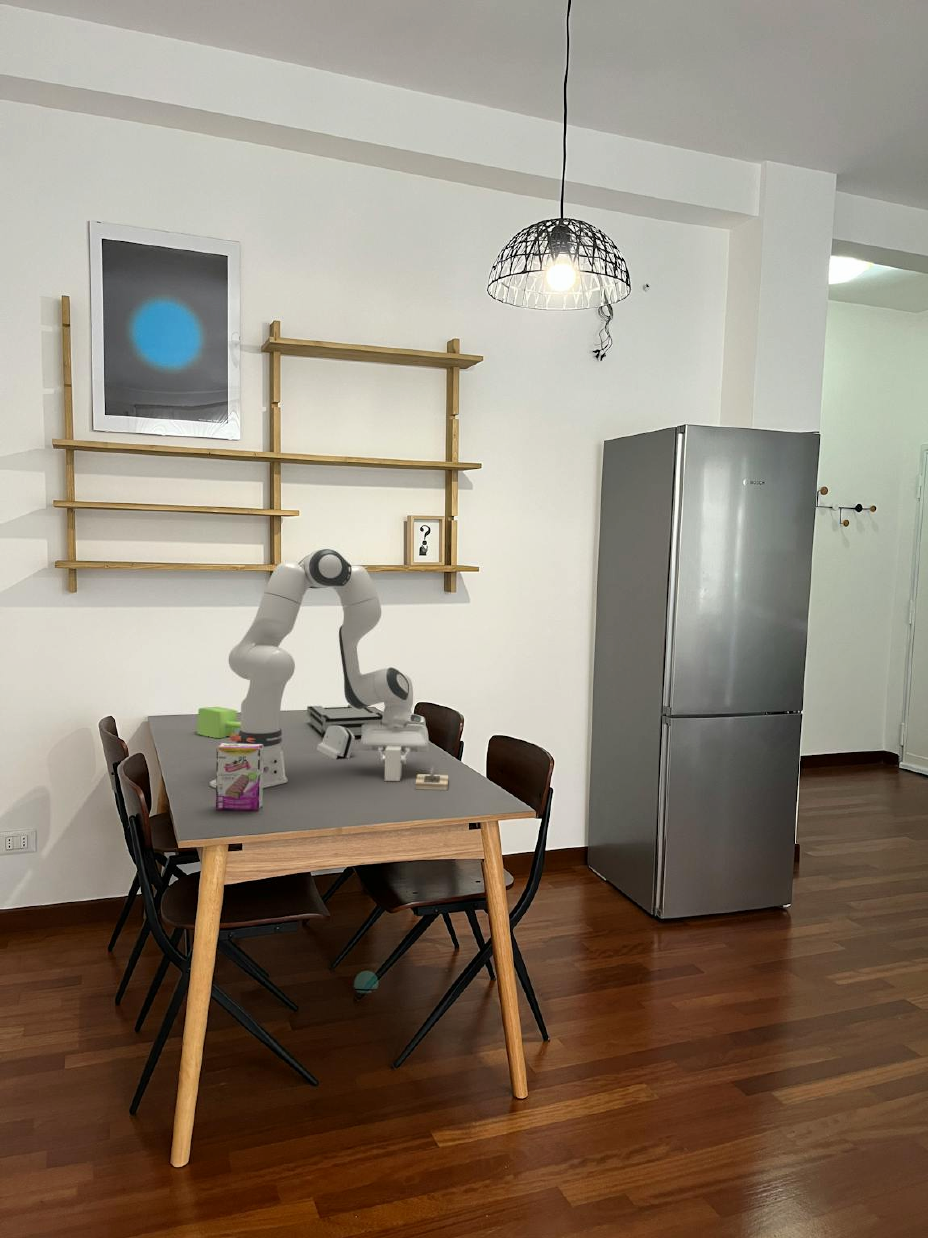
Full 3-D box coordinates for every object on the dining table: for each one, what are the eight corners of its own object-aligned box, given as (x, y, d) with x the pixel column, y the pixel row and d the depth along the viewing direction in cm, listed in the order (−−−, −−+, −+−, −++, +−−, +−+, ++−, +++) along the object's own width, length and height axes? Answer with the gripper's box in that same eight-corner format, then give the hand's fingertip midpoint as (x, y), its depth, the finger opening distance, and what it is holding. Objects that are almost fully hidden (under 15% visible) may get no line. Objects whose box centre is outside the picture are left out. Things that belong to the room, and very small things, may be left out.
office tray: (360, 722, 358) (361, 701, 357) (383, 739, 328) (384, 716, 327) (307, 724, 350) (307, 703, 350) (325, 742, 321) (325, 718, 320)
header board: (447, 790, 261) (447, 773, 260) (415, 789, 261) (415, 772, 260) (448, 780, 272) (448, 764, 271) (417, 779, 272) (417, 763, 271)
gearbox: (249, 737, 326) (250, 710, 326) (228, 741, 318) (229, 713, 318) (212, 730, 336) (213, 704, 335) (191, 733, 327) (192, 706, 327)
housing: (399, 781, 269) (400, 750, 268) (384, 780, 269) (385, 750, 268) (401, 775, 276) (401, 745, 275) (386, 774, 276) (387, 744, 275)
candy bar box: (215, 810, 236) (215, 746, 234) (219, 805, 241) (219, 742, 239) (259, 811, 236) (260, 747, 235) (263, 805, 241) (263, 743, 240)
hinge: (315, 749, 308) (325, 720, 309) (328, 752, 311) (338, 724, 312) (335, 759, 294) (345, 729, 295) (348, 763, 296) (358, 733, 297)
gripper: (361, 715, 278) (356, 755, 269) (429, 717, 278) (427, 757, 269) (362, 727, 283) (358, 767, 274) (430, 729, 282) (427, 768, 273)
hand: (393, 762), depth 271 cm, fingers closed on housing, 4 cm apart
